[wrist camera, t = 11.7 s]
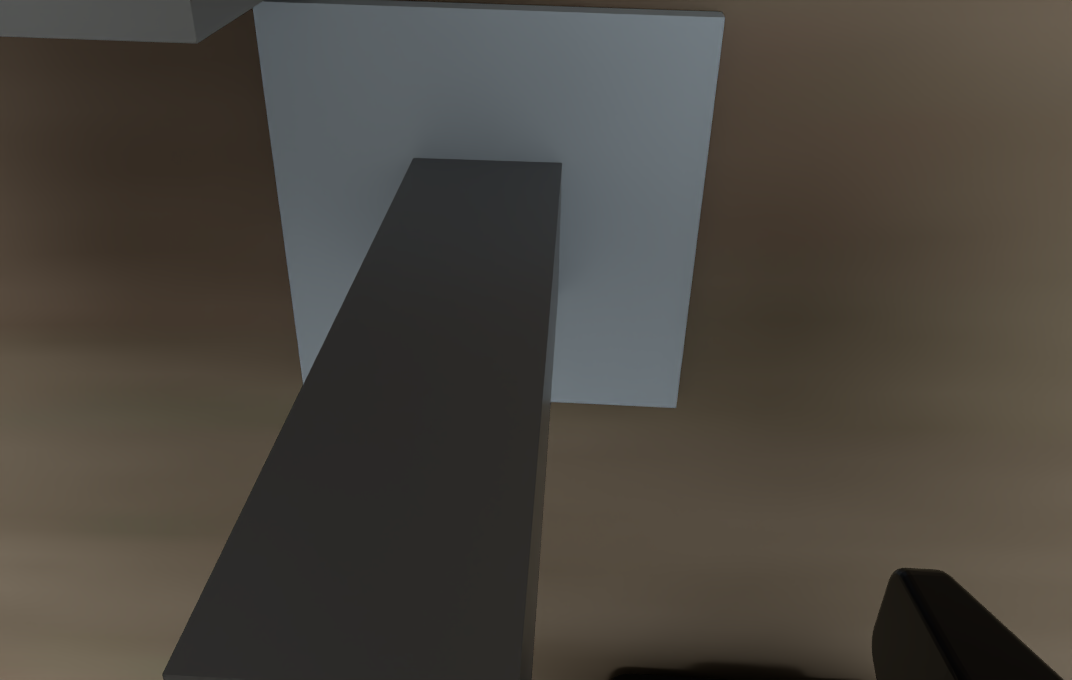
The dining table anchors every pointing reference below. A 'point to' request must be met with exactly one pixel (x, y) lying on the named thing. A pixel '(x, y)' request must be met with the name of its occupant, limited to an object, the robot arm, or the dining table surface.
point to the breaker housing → (120, 19)
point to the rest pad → (504, 156)
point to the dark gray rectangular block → (407, 456)
